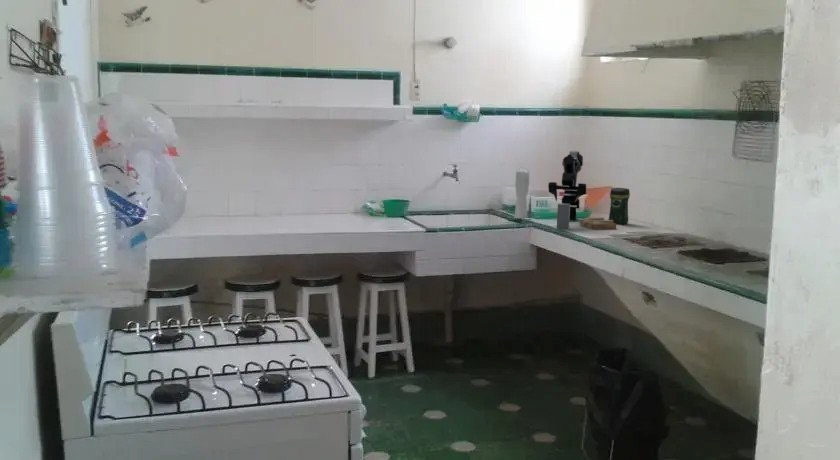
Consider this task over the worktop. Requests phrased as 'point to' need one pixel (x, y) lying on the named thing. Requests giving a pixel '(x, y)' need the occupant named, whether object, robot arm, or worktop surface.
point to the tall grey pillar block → (563, 216)
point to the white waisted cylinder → (522, 194)
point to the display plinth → (597, 223)
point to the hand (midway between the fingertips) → (565, 201)
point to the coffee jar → (619, 205)
